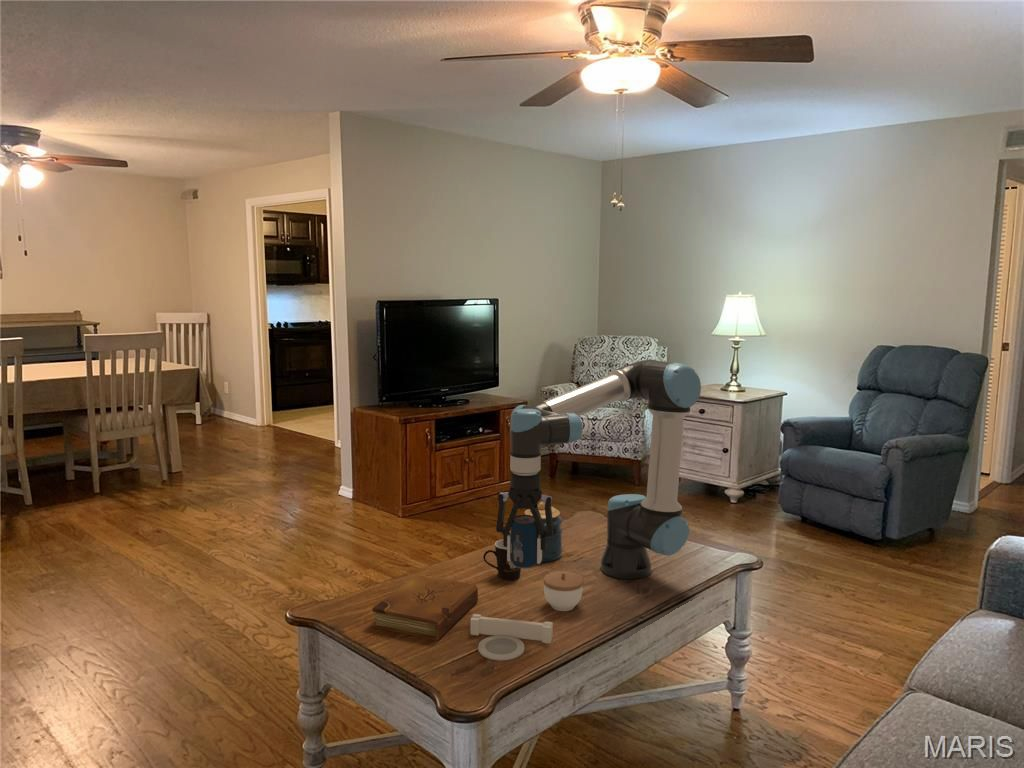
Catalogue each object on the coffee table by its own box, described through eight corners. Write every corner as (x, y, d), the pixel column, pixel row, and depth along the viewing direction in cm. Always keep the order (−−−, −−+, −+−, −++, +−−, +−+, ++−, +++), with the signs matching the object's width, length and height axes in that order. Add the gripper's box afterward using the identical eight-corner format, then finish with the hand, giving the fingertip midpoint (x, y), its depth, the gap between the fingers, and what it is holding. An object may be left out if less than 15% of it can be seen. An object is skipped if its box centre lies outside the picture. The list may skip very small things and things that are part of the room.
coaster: (528, 640, 175) (528, 637, 175) (519, 663, 164) (519, 660, 164) (484, 635, 177) (484, 632, 177) (472, 657, 167) (472, 654, 166)
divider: (552, 637, 176) (552, 622, 176) (550, 643, 173) (550, 628, 173) (473, 629, 180) (473, 614, 180) (470, 634, 177) (470, 619, 177)
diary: (438, 643, 174) (438, 621, 173) (372, 629, 181) (372, 608, 180) (477, 604, 195) (477, 584, 195) (417, 593, 202) (417, 573, 201)
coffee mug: (524, 571, 217) (525, 539, 216) (522, 582, 208) (522, 549, 207) (486, 569, 218) (486, 537, 217) (482, 581, 210) (482, 548, 208)
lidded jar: (556, 618, 186) (556, 584, 185) (535, 602, 196) (536, 569, 194) (590, 610, 191) (591, 576, 190) (569, 594, 201) (569, 562, 199)
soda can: (537, 559, 184) (538, 513, 183) (539, 569, 177) (539, 522, 176) (510, 559, 184) (510, 514, 183) (511, 569, 177) (511, 522, 176)
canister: (515, 559, 226) (515, 505, 224) (530, 545, 238) (530, 494, 236) (554, 565, 222) (554, 510, 219) (567, 551, 233) (568, 498, 231)
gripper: (567, 470, 179) (565, 558, 182) (490, 465, 183) (490, 551, 186) (562, 478, 172) (561, 569, 175) (482, 472, 176) (482, 562, 179)
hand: (524, 560), depth 181 cm, fingers closed on soda can, 7 cm apart
